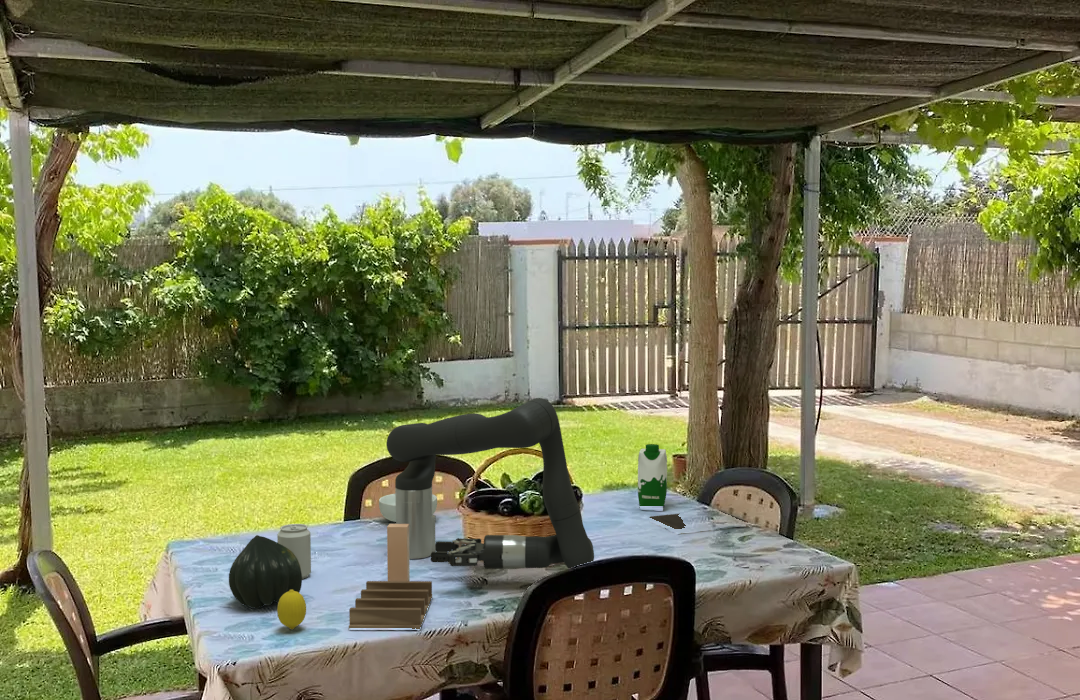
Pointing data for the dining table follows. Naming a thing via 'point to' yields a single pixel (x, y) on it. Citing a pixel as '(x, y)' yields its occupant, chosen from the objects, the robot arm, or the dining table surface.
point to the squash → (264, 573)
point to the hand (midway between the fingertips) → (433, 551)
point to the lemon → (291, 609)
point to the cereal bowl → (389, 506)
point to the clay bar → (398, 552)
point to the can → (297, 544)
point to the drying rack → (391, 604)
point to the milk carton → (652, 476)
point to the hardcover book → (677, 520)
